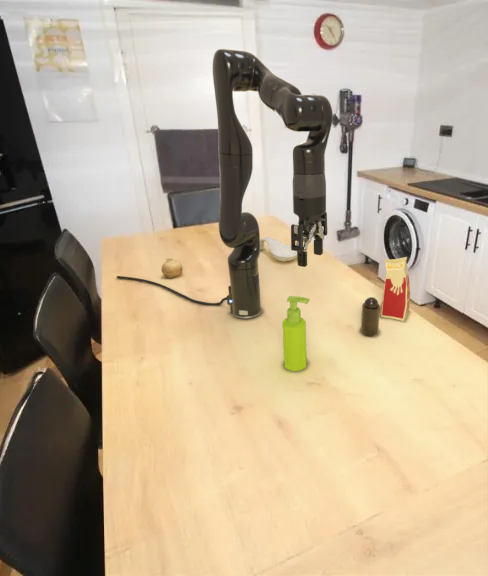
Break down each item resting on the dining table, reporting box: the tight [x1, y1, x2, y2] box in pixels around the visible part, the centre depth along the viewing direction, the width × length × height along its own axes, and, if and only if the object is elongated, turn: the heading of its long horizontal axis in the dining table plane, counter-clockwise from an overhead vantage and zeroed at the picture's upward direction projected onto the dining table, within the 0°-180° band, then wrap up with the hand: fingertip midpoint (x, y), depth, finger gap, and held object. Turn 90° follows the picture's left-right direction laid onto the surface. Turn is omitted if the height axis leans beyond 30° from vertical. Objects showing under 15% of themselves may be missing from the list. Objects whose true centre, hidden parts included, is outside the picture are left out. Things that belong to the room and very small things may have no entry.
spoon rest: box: [260, 236, 297, 263], centre depth 180 cm, size 24×12×7 cm, turn 48°
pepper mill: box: [360, 296, 381, 337], centre depth 122 cm, size 5×5×12 cm
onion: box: [160, 258, 183, 279], centre depth 161 cm, size 8×8×7 cm
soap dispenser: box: [282, 295, 311, 372], centre depth 105 cm, size 6×7×20 cm
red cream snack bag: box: [379, 256, 411, 322], centre depth 131 cm, size 9×9×20 cm
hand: (310, 260), depth 99 cm, fingers open, 8 cm apart
